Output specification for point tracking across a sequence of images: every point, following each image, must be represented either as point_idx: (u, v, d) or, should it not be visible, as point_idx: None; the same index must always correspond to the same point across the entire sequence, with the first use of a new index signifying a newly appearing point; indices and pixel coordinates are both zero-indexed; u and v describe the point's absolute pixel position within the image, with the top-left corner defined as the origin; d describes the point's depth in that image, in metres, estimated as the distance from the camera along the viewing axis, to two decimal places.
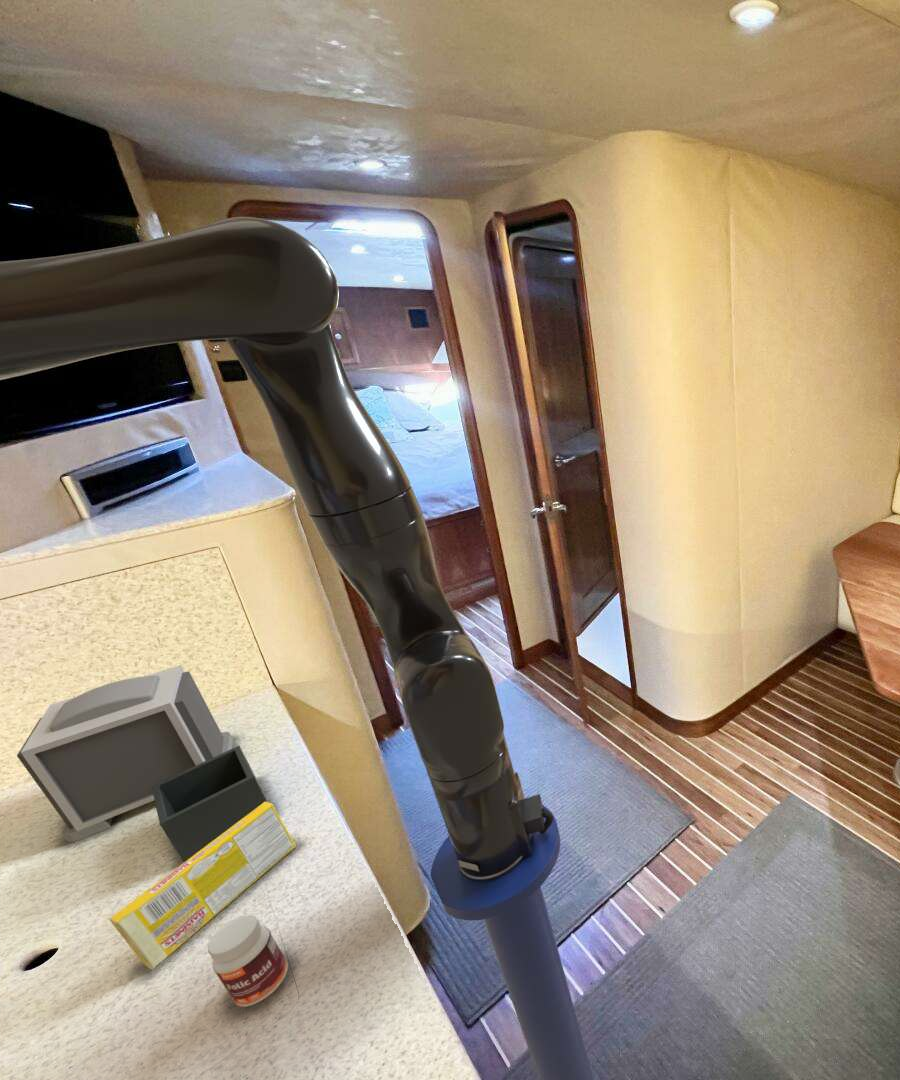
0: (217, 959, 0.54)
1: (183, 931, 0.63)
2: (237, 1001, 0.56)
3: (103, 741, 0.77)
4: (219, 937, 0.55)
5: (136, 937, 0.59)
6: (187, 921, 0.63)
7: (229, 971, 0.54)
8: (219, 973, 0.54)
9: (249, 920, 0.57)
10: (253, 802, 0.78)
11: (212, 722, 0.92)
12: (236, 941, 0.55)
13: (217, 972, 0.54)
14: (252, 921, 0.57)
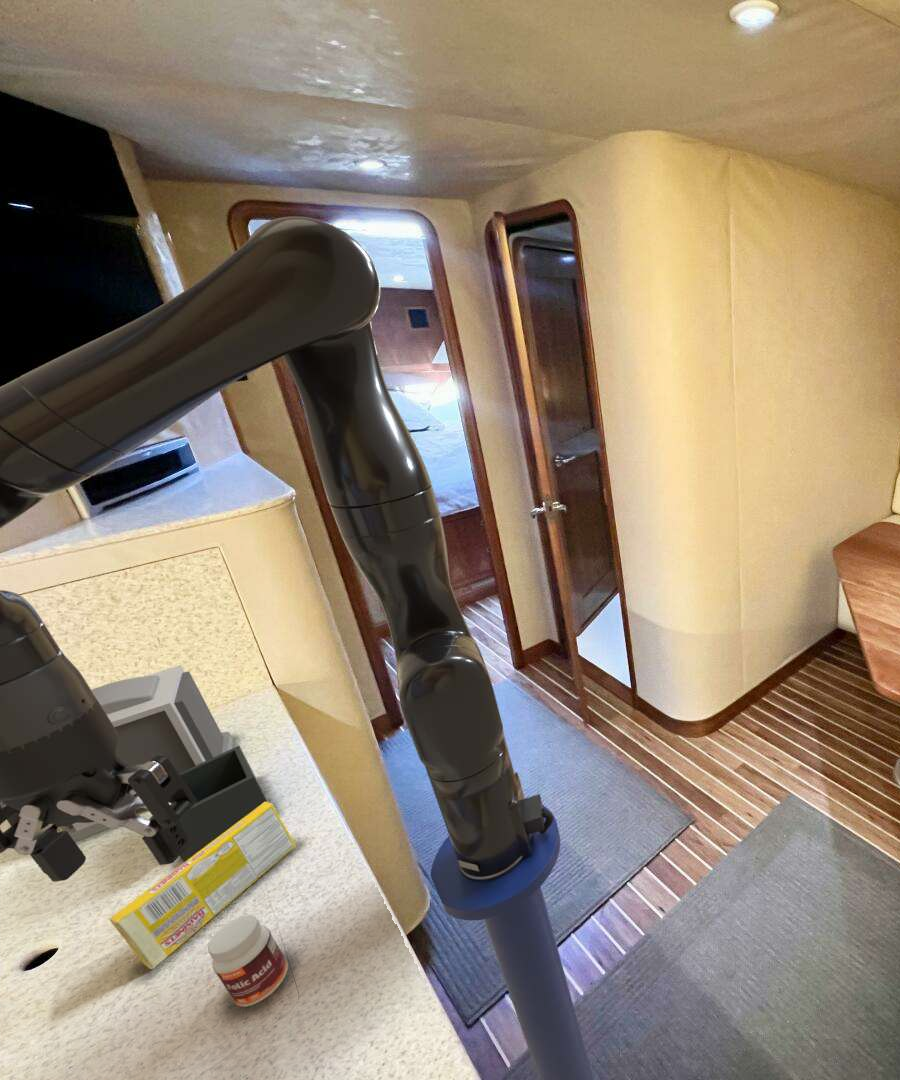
0: (217, 959, 0.54)
1: (183, 931, 0.63)
2: (237, 1001, 0.56)
3: None
4: (219, 937, 0.55)
5: (136, 937, 0.59)
6: (187, 921, 0.63)
7: (229, 970, 0.54)
8: (219, 973, 0.54)
9: (249, 920, 0.57)
10: (253, 802, 0.78)
11: (212, 722, 0.92)
12: (236, 941, 0.55)
13: (217, 972, 0.54)
14: (252, 921, 0.57)
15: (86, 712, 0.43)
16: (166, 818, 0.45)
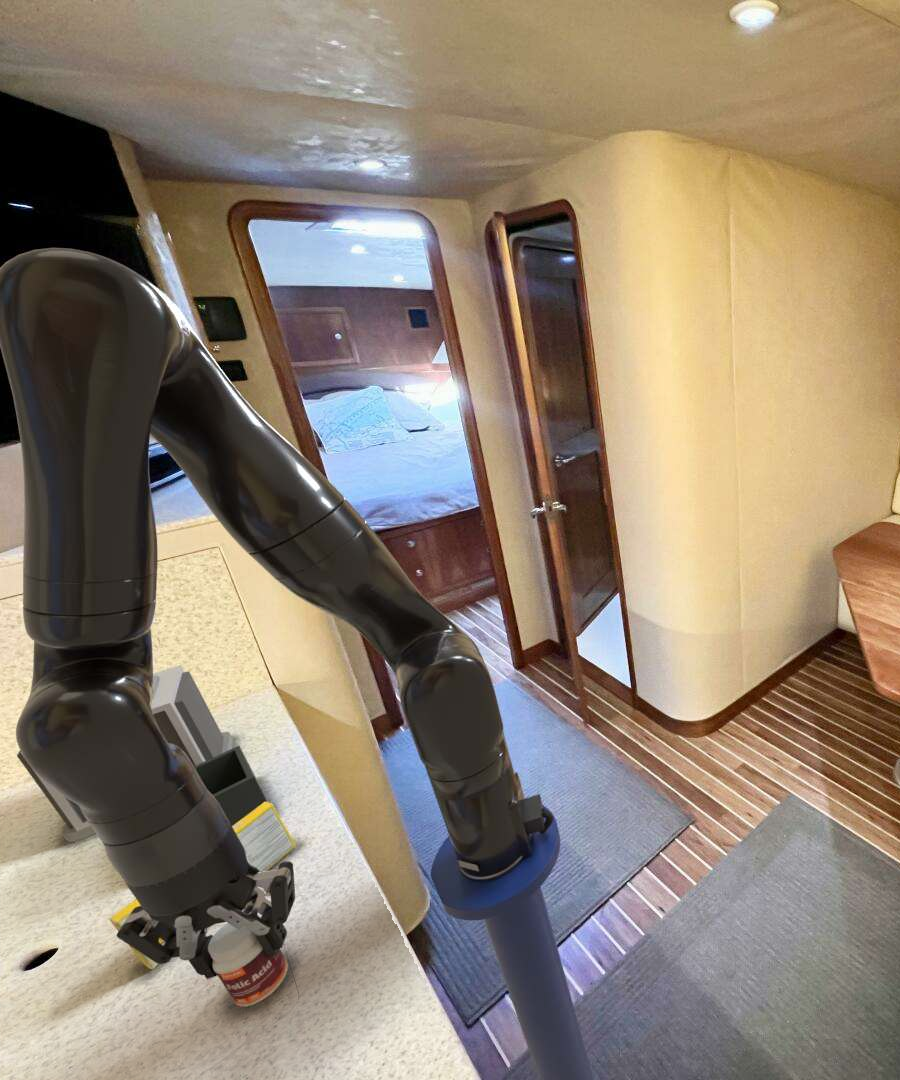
0: (217, 959, 0.54)
1: None
2: (237, 1001, 0.56)
3: None
4: (219, 937, 0.55)
5: None
6: None
7: (229, 970, 0.54)
8: (219, 973, 0.54)
9: None
10: (253, 802, 0.78)
11: (212, 722, 0.92)
12: (236, 941, 0.55)
13: (217, 972, 0.54)
14: None
15: (228, 830, 0.53)
16: (280, 916, 0.56)
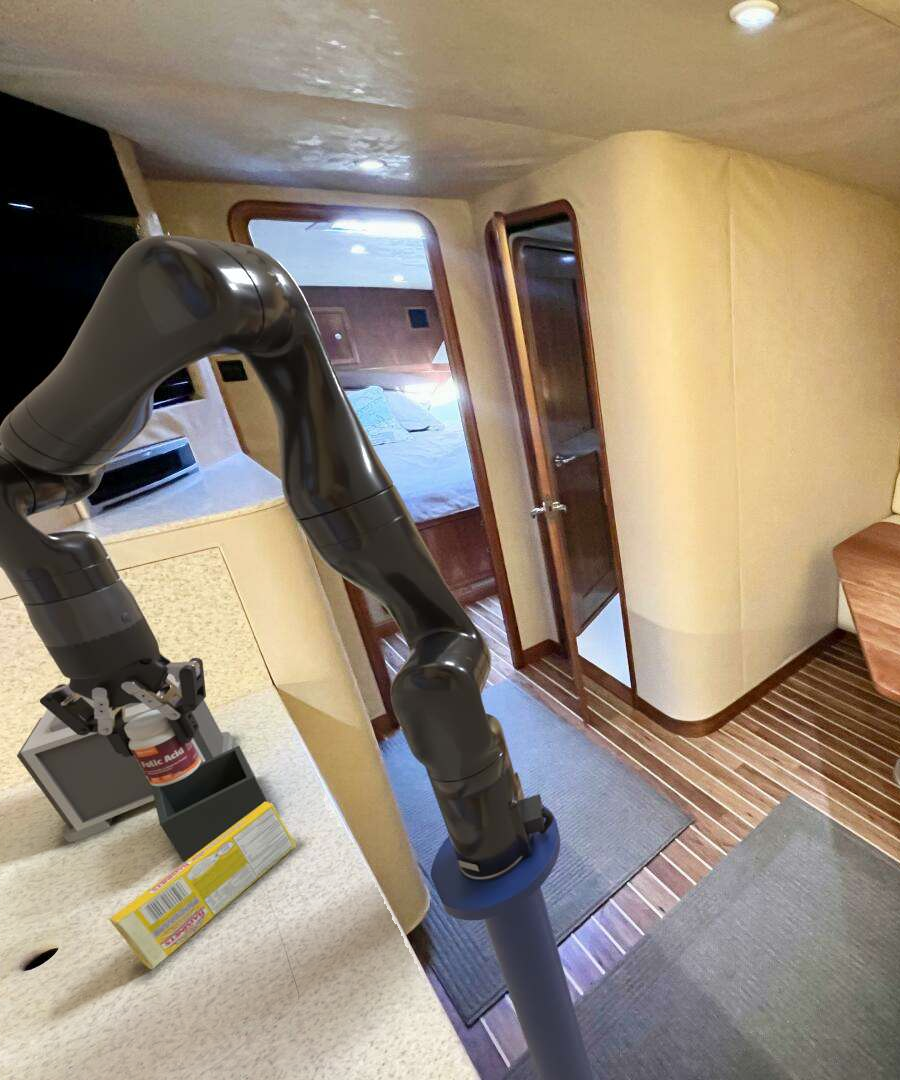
0: (132, 736, 0.62)
1: (183, 931, 0.63)
2: (151, 780, 0.64)
3: (103, 741, 0.77)
4: (135, 721, 0.63)
5: (136, 937, 0.59)
6: (187, 921, 0.63)
7: (142, 747, 0.62)
8: (134, 750, 0.62)
9: None
10: (253, 802, 0.78)
11: (212, 722, 0.92)
12: (150, 723, 0.63)
13: (132, 749, 0.62)
14: None
15: (141, 618, 0.61)
16: (190, 703, 0.64)
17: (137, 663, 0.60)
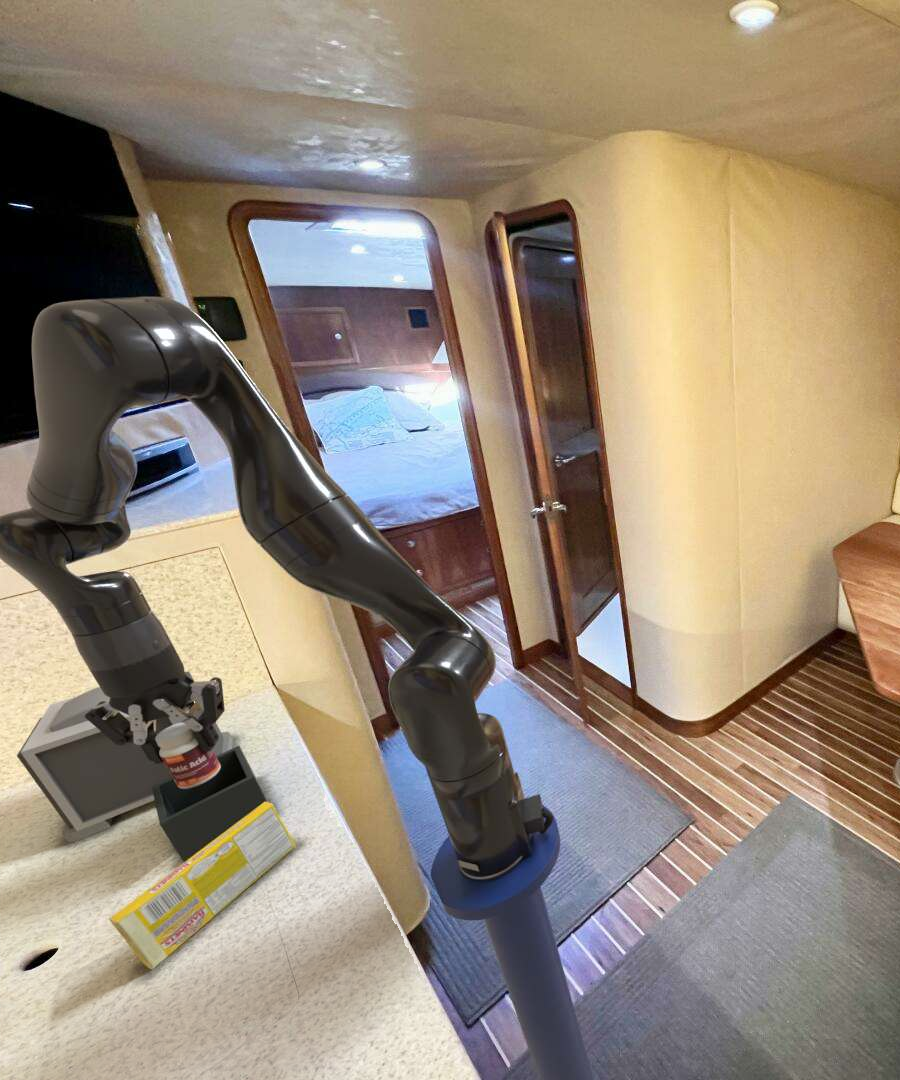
0: (162, 745, 0.72)
1: (183, 931, 0.63)
2: (179, 783, 0.74)
3: (103, 741, 0.77)
4: (164, 732, 0.73)
5: (136, 937, 0.59)
6: (187, 921, 0.63)
7: (171, 755, 0.72)
8: (163, 757, 0.72)
9: None
10: (253, 802, 0.78)
11: None
12: (177, 734, 0.73)
13: (162, 756, 0.72)
14: None
15: (169, 644, 0.70)
16: (211, 717, 0.73)
17: (166, 683, 0.70)
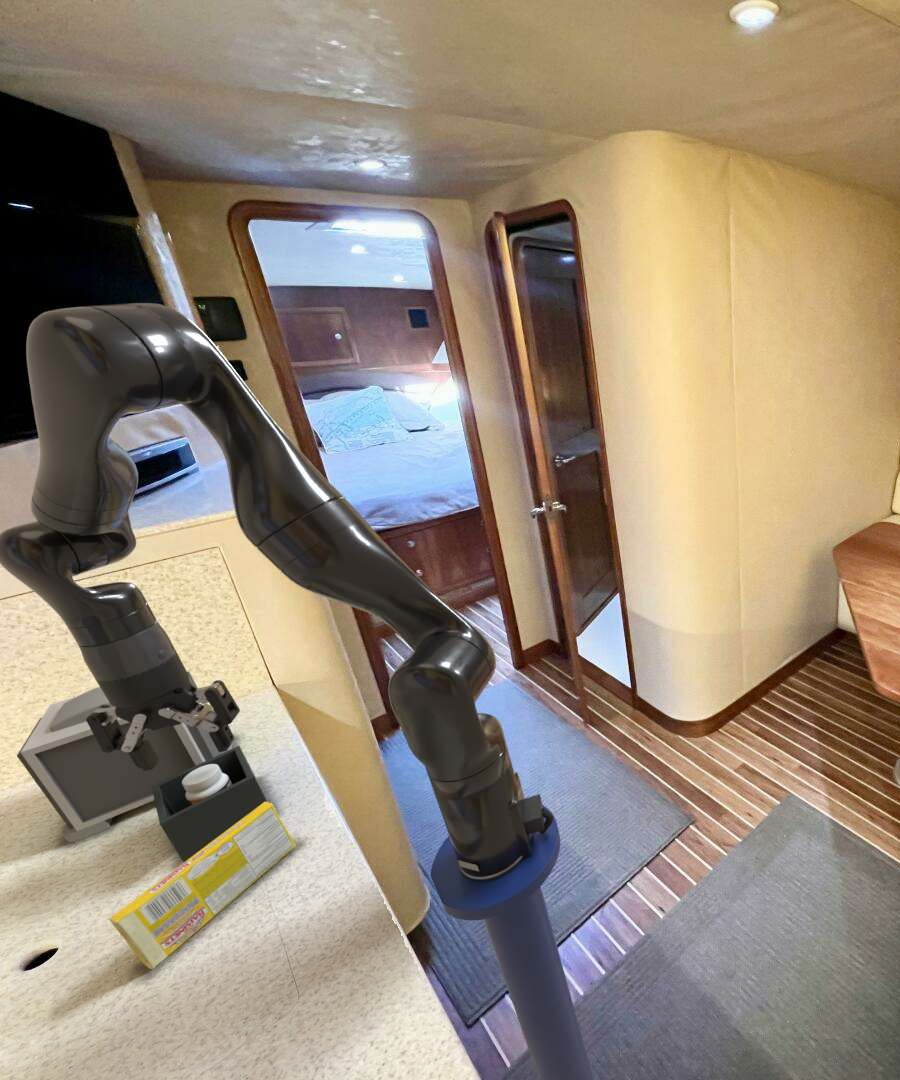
0: (188, 789, 0.75)
1: (183, 931, 0.63)
2: None
3: None
4: (190, 776, 0.76)
5: (136, 937, 0.59)
6: (187, 921, 0.63)
7: (197, 798, 0.75)
8: (190, 800, 0.75)
9: (213, 767, 0.78)
10: (253, 802, 0.78)
11: None
12: (202, 778, 0.76)
13: (188, 799, 0.75)
14: (215, 767, 0.77)
15: (174, 654, 0.71)
16: (226, 717, 0.74)
17: (171, 692, 0.71)
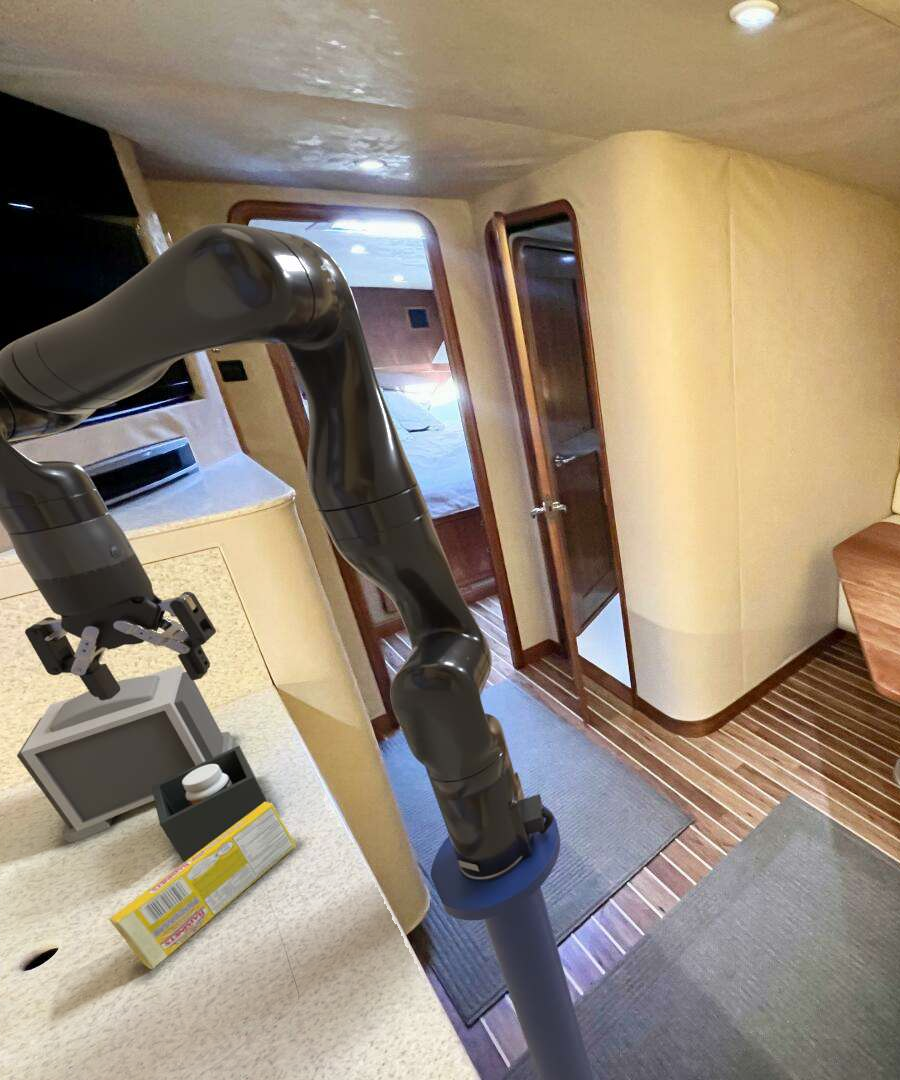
0: (188, 789, 0.75)
1: (183, 931, 0.63)
2: None
3: (103, 741, 0.77)
4: (190, 776, 0.76)
5: (136, 937, 0.59)
6: (187, 921, 0.63)
7: (197, 798, 0.75)
8: (190, 800, 0.75)
9: (213, 766, 0.78)
10: (253, 802, 0.78)
11: (212, 722, 0.92)
12: (202, 778, 0.76)
13: (189, 799, 0.75)
14: (215, 767, 0.78)
15: (132, 555, 0.58)
16: (198, 636, 0.61)
17: (129, 602, 0.58)
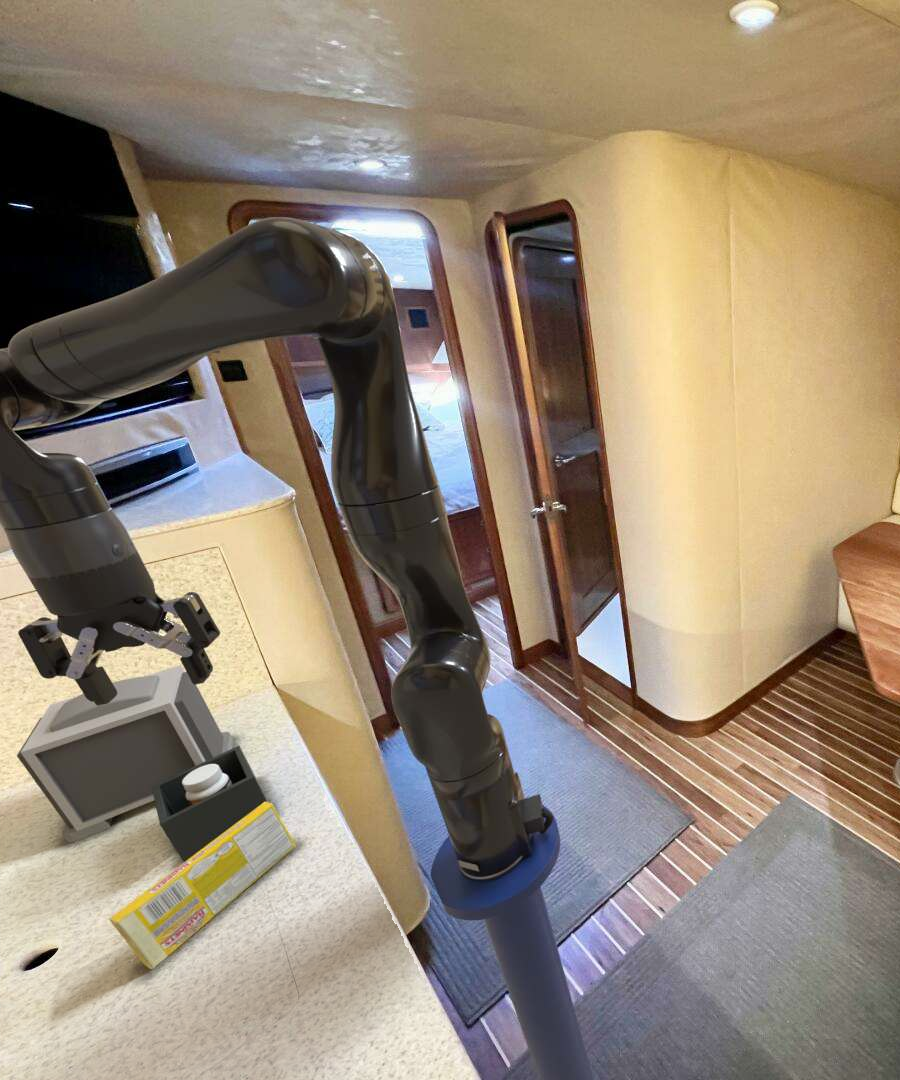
0: (188, 789, 0.75)
1: (183, 931, 0.63)
2: None
3: (103, 741, 0.77)
4: (190, 776, 0.76)
5: (136, 937, 0.59)
6: (187, 921, 0.63)
7: (197, 798, 0.75)
8: (190, 800, 0.75)
9: (213, 766, 0.78)
10: (253, 802, 0.78)
11: (212, 722, 0.92)
12: (203, 778, 0.76)
13: (189, 799, 0.75)
14: (215, 767, 0.78)
15: (134, 553, 0.55)
16: (202, 639, 0.59)
17: (130, 602, 0.55)
